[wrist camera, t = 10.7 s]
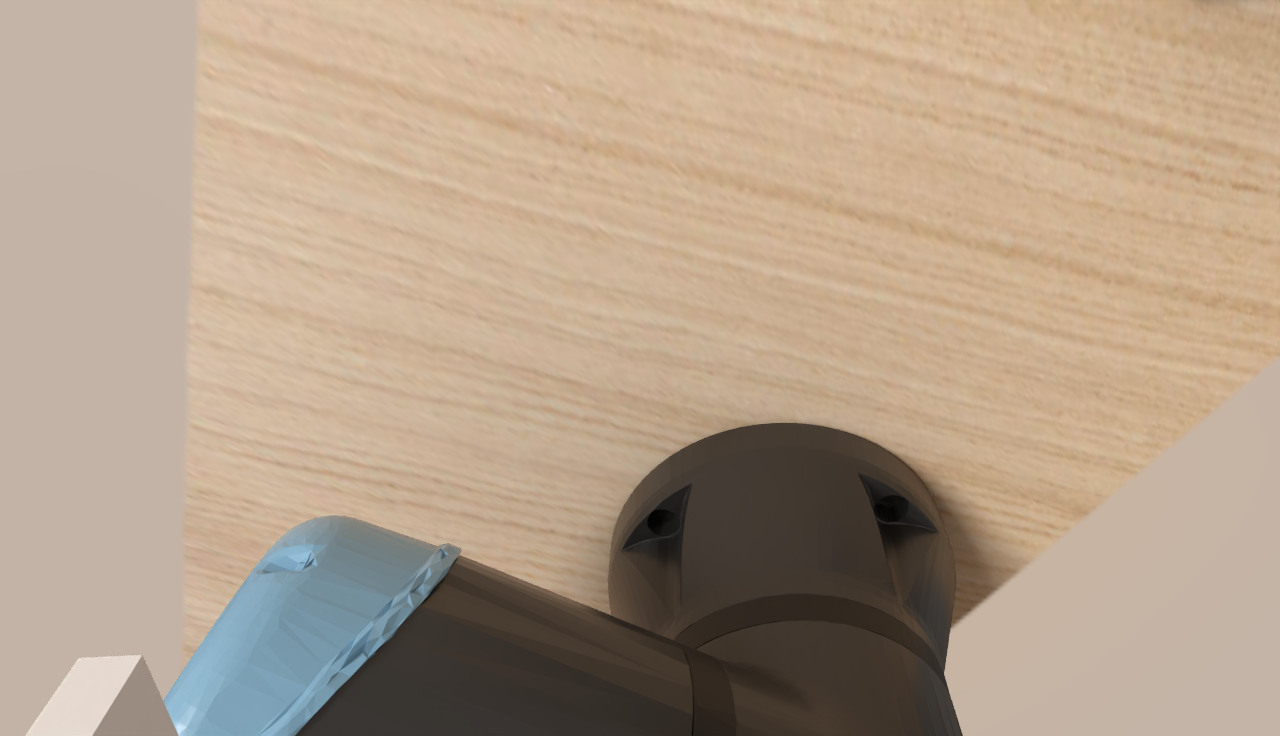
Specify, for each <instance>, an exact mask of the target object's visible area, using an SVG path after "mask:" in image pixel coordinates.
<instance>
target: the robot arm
mask: <svg viewBox="0 0 1280 736" xmlns="http://www.w3.org/2000/svg"><path fill="white" fill-rule="evenodd" d="M460 552H461V548H458V547H456V546H453V545H451V544H449V543H448V544H443V545H440V546H435V545H432V544H429V543H426V542H423V541H420V540H417V539H414V538H411V537H408V536H405V535H402V534H400V533H397V532H394V531H391V530H388V529H385V528H382V527H379V526H376V525H373V524H370V523H367V522H364V521H361V520H358V519H355V518H351V517H346V516H324V517H318V518H314V519H312V520H309V521H306V522H304V523H302V524H300V525H298V526H296V527H294V528H293V529H291V530H290V531H288V532H287V533H286V534H285V535H284V536H282V537H281V538H280V539H279V540H278V541H277V542H276V543H275V544H274V545H273V546H272V547H271V548H270V549H269V551H268V552H267V553H266V554H265V555H264V557H263V558H262V559H261V560H260V562H259V563H258V564H257V566H256V567H255V568H254V569H253V571H252V572H251V573H250V575H249V576H248V578H247V579H246V580H245V582H244V583H243V584H242V586H241V587H240V589H239V590H238V591H237V593H236V594H235V596H234V597H233V598H232V600H231V601H230V603H229V604H228V605H227V607H226V608H225V610H224V611H223V613H222V614H221V615H220V617H219V618H218V620H217V621H216V623H215V624H214V625H213V627H212V628H211V630H210V631H209V633H208V634H207V636H206V637H205V639H204V640H203V642H202V643H201V645H200V646H199V648H198V649H197V650H196V652H195V653H194V655H193V656H192V658H191V659H190V661H189V662H188V664H187V665H186V667H185V668H184V670H183V671H182V673H181V674H180V676H179V678H178V679H177V681H176V682H175V684H174V685H173V687H172V688H171V690H170V691H169V693H168V694H167V696H166V697H165V699H164V701H163V700H162V697H161V695H160V693H159V691H158V689H157V687H156V684H155V682H154V680H153V678H152V675H151V673H150V671H149V669H148V667H147V664H146V662H145V660H144V658H143V656H142V655H132V656H112V657H91V658H79V659H78V660H77V662H76V663H75V664H74V666H73V667H72V669H71V670H70V672H69V673H68V675H67V676H66V678H65V679H64V680H63V682H62V683H61V685H60V686H59V688H58V689H57V690H56V692H55V693H54V695H53V696H52V698H51V699H50V701H49V702H48V703H47V705H46V706H45V708H44V709H43V711H42V712H41V714H40V715H39V716H38V718H37V719H36V721H35V722H34V724H33V725H32V727H31V728H30V730H29V731H28V733H27V734H26V735H25V736H963V735H962V732H961V729H960V726H959V722H958V719H957V716H956V713H955V710H954V706H953V703H952V700H951V697H950V694H949V690H948V687H947V683H946V680H945V676H944V670H945V663H946V656H947V648H948V642H949V634H950V627H951V620H952V613H953V606H954V599H955V590H956V574H955V564H954V557H953V552H952V548H951V545H950V542H949V539H948V536H947V533H946V530H945V527H944V524H943V521H942V518H941V515H940V513H939V510H938V508H937V506H936V504H935V502H934V500H933V498H932V496H931V494H930V493H929V491H928V490H927V488H926V487H925V486H924V484H923V483H922V482H921V481H920V479H919V478H918V477H917V476H916V475H915V474H914V473H913V472H912V471H911V470H910V469H909V468H908V467H907V466H906V465H905V464H904V463H903V462H901V461H900V460H899V459H897V458H896V457H895V456H893V455H892V454H890V453H889V452H887V451H886V450H884V449H882V448H881V447H879V446H877V445H875V444H873V443H871V442H869V441H867V440H865V439H862V438H860V437H857V436H855V435H852V434H849V433H846V432H843V431H839V430H836V429H831V428H827V427H822V426H815V425H808V424H797V423H771V424H760V425H752V426H746V427H740V428H736V429H732V430H728V431H724V432H721V433H718V434H715V435H712V436H709V437H707V438H704V439H702V440H699V441H697V442H695V443H693V444H691V445H689V446H687V447H685V448H683V449H681V450H680V451H678V452H677V453H675V454H673V455H672V456H670V457H669V458H667V459H666V460H665V461H663V462H662V463H661V464H659V465H658V466H657V467H656V468H655V469H654V470H652V471H651V472H650V473H649V474H648V475H647V476H646V477H645V478H644V479H643V480H642V481H641V483H640V484H639V485H638V486H637V487H636V489H635V490H634V491H633V493H632V494H631V495H630V497H629V499H628V500H627V502H626V503H625V505H624V507H623V509H622V511H621V513H620V515H619V518H618V520H617V523H616V526H615V529H614V533H613V538H612V543H611V553H610V563H609V574H608V593H609V602H610V608H611V613H612V616H611V615H609V614H606V613H604V612H601V611H599V610H596V609H594V608H591V607H589V606H586V605H584V604H581V603H579V602H576V601H574V600H571V599H569V598H566V597H563V596H561V595H558V594H556V593H553V592H551V591H548V590H546V589H543V588H541V587H538V586H536V585H533V584H531V583H528V582H526V581H523V580H521V579H518V578H516V577H513V576H511V575H508V574H506V573H503V572H501V571H498V570H496V569H493V568H491V567H488V566H486V565H483V564H481V563H478V562H476V561H473V560H471V559H468V558H466V557H463V556H461V555H459V554H460Z"/></svg>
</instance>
